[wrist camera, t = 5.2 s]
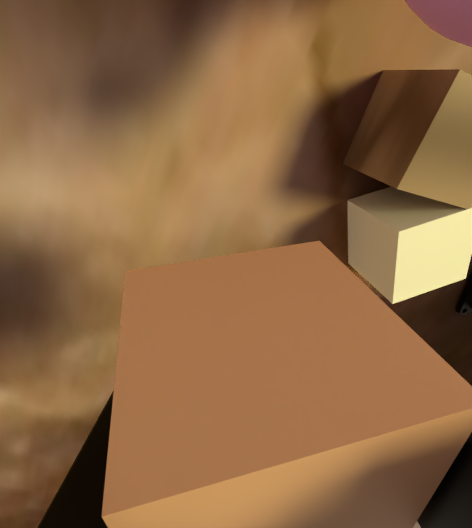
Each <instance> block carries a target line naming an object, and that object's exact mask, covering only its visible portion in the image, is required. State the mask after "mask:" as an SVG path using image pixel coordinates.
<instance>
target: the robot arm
mask: <svg viewBox="0 0 472 528" xmlns="http://www.w3.org/2000/svg"><path fill="white" fill-rule="evenodd" d="M456 312H458V313H459V314H460V315H465V314H469V313H472V273H471V276H470V278H469V280H468V283H467V285H466V287H465V290H464V292H463V295H462V297H461V299H460V302H459V304H458V306H457V309H456ZM113 393H114V391H113ZM113 393H112V394H111V396H110V398H109V400H108V402H107V403H106V405H105V407H104V409H103V411H102V412H101V414H100V416H99V418H98V420H97V421H96V423H95V425H94V427H93V429H92V430H91V432H90V434H89V436H88V438H87V439H86V441H85V443H84V445H83V447H82V448H81V450H80V452H79V454H78V456H77V457H76V459H75V461H74V463H73V465H72V466H71V468H70V470H69V472H68V474H67V475H66V477H65V479H64V481H63V483H62V484H61V486H60V488H59V490H58V492H57V494H56V495H55V497H54V499H53V501H52V503H51V504H50V506H49V508H48V510H47V512H46V513H45V515H44V517H43V519H42V521H41V522H40V524H39V526H38V528H108V527H107V525H106V523H105V522H104V520H103V518H102V506H103V496H104V486H105V476H106V465H107V455H108V445H109V435H110V424H111V414H112V404H113ZM417 521H418V523H419V525H420V526H421V528H472V432H471V434H470V436H469V437H468V439H467V440H466V442H465V444H464V445H463V447H462V449H461V450H460V452H459V453H458V455H457V457H456V458H455V460H454V461H453V463H452V465H451V466H450V468H449V470H448V471H447V473H446V474H445V476H444V478H443V479H442V481H441V483H440V484H439V486H438V487H437V489H436V491H435V492H434V494H433V496H432V497H431V499H430V500H429V502H428V504H427V505H426V507H425V509H424V510H423V512H422V513H421V515H420V517H419V518H418V520H417Z"/></svg>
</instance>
